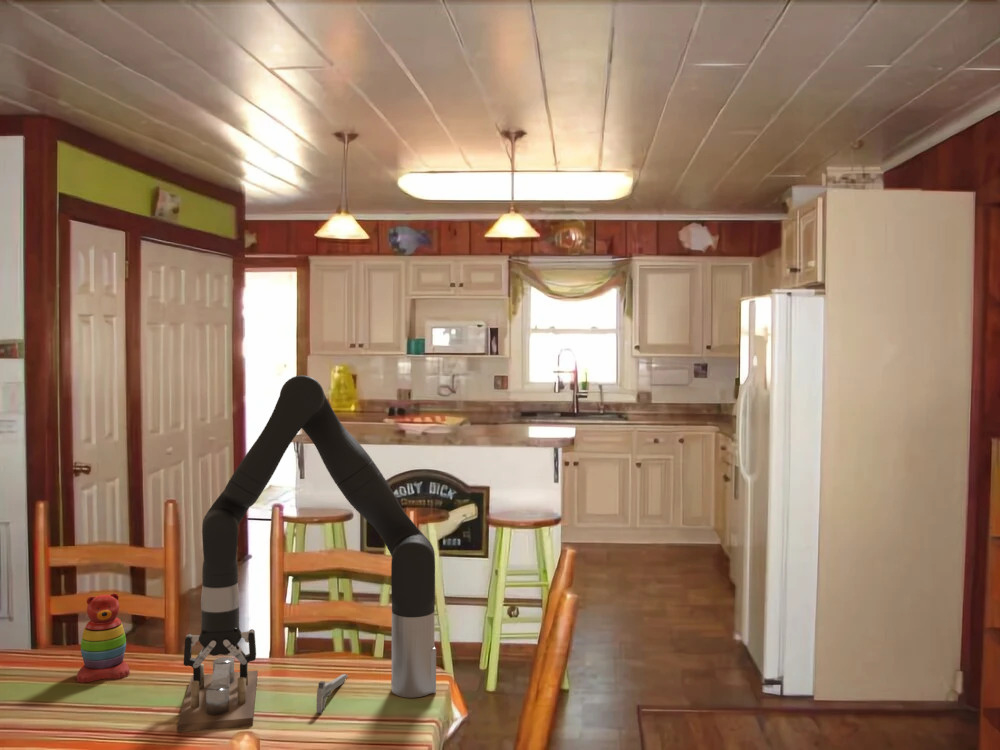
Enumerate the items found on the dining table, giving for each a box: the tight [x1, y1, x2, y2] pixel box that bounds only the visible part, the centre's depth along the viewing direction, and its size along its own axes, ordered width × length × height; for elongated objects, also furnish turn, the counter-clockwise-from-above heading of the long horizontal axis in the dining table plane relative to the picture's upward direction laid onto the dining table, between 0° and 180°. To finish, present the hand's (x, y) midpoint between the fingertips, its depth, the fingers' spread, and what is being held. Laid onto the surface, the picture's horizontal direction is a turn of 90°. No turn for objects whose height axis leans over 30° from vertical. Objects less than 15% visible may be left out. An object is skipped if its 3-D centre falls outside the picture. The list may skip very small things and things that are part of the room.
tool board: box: [176, 662, 259, 733], centre depth 182 cm, size 14×26×6 cm, turn 14°
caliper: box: [316, 673, 349, 714], centre depth 187 cm, size 20×1×6 cm, turn 175°
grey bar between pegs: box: [206, 656, 235, 716], centre depth 182 cm, size 4×20×4 cm, turn 13°
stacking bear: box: [76, 593, 131, 684], centre depth 198 cm, size 11×10×18 cm
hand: (220, 682), depth 182 cm, fingers open, 8 cm apart
